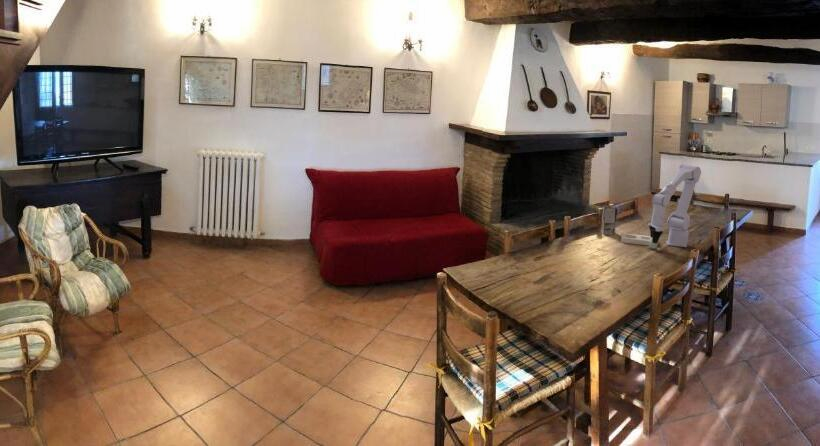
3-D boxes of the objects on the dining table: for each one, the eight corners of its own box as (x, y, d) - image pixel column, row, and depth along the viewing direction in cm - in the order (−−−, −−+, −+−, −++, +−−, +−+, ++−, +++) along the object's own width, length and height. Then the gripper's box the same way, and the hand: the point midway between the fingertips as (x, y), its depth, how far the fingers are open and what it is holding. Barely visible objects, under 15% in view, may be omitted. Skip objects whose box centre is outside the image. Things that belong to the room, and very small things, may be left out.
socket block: (654, 240, 286) (655, 236, 286) (656, 246, 276) (657, 242, 276) (620, 237, 292) (620, 232, 291) (621, 242, 281) (622, 238, 281)
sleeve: (656, 248, 272) (658, 237, 271) (657, 250, 269) (659, 240, 267) (647, 247, 274) (649, 237, 272) (648, 249, 270) (650, 239, 268)
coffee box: (614, 235, 294) (618, 208, 290) (602, 234, 295) (606, 208, 291) (611, 231, 302) (615, 205, 298) (600, 230, 304) (603, 204, 299)
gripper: (648, 212, 274) (644, 236, 278) (651, 218, 261) (647, 243, 264) (662, 214, 272) (658, 238, 276) (666, 220, 259) (662, 245, 262)
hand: (653, 241), depth 270 cm, fingers open, 7 cm apart
